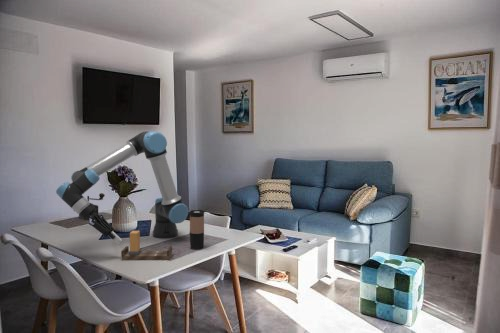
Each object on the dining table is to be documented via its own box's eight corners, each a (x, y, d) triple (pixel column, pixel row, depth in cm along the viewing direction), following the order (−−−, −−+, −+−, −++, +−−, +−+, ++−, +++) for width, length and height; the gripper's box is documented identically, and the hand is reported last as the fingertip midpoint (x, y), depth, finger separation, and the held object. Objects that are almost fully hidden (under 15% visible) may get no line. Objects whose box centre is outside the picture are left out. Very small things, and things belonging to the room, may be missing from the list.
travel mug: (190, 245, 201) (190, 209, 199) (204, 245, 201) (204, 209, 200) (189, 249, 193) (189, 212, 191) (203, 249, 194) (203, 212, 192)
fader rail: (121, 260, 176) (121, 251, 175) (126, 254, 184) (126, 246, 183) (169, 259, 177) (169, 250, 177) (172, 254, 185) (172, 245, 185)
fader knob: (128, 254, 177) (128, 233, 176) (132, 251, 183) (132, 230, 182) (138, 254, 177) (137, 233, 176) (141, 250, 183) (140, 230, 182)
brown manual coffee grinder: (85, 220, 258) (84, 195, 257) (78, 218, 266) (77, 193, 264) (106, 217, 270) (105, 193, 268) (99, 215, 277) (98, 191, 276)
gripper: (84, 211, 184) (118, 243, 186) (73, 217, 171) (110, 251, 173) (95, 201, 183) (129, 233, 185) (84, 206, 170) (121, 240, 172)
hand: (119, 242), depth 179 cm, fingers closed
